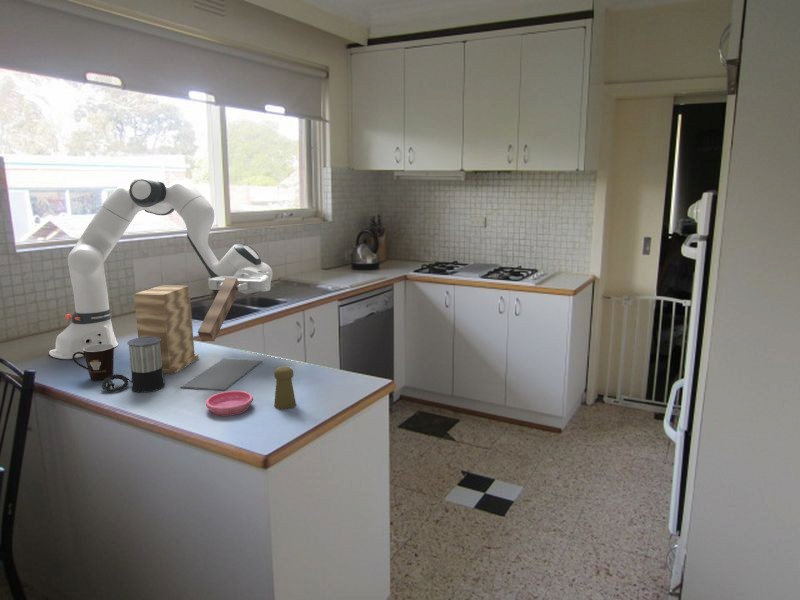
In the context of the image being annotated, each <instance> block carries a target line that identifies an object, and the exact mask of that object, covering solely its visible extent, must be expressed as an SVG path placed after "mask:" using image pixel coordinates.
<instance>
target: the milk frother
mask: <svg viewBox="0 0 800 600" xmlns="http://www.w3.org/2000/svg"><path fill="white" fill-rule="evenodd" d="M160 341H161V339H160V338H158V337H140V338H138V337H136V338H132V339H130V340H128V341H127V342H126V343H127V345H128V352H129V360H130V370H131V379H132V380H131V379H130V378H128V377H127V376H125V375H123V374H119V373H118V374H117V373H116V374H115V373H113V375H111V376H108V377H107V378H106V379H104V380H103V381H101V389H102V390H103V391H105V392H109V393H112V392H120V391H123V390H125V389H126V388H127V387H128V386H129V382H130V383H132V387H131V390H132V391H133V392H136V393H151V392H155V391H158V390H161V389H163V388H164V387H165V385H166V383H165V381H164V375H163V374H164V373H163V372H162V360H161V349H160ZM113 380H120V381H123V384H122V385H119V386H117V387H115V383H114V381H113Z"/></svg>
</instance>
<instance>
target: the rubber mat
mask: <svg viewBox="0 0 800 600" xmlns="http://www.w3.org/2000/svg"><path fill="white" fill-rule="evenodd" d="M261 363H262V360H260V359H244V358H241V359H239V358H222V359H220V360H219V361H217V362H216V363H214V364H213V365H211V366H210V367H208V368H207V369H205V370H204V371H202V372H201V373H200V374H198V375H196V376H195V377H193V378H191V379H190V380H188V381H187V382H186V383H183V384H182V385H181V386H180V389H188V390H189V389H190V390H191V389H192V390H204V391H205V390H206V391H217V392H218V391H221V392H226V391H227V390H228V389H229V388H231V387H232V386H233V385H234V384H235V383H237V382H238V381H239V380H241V377H242V376H243V375H244V376H246V375H247V374H248V373H249V372H251V371H252V370H253V369H255V368H256V367H257V366H258V365H260V364H261ZM255 366H256V367H255ZM251 369H252V370H251ZM250 370H251V371H250ZM247 372H248V373H247ZM246 373H247V374H246ZM244 376H243V377H244ZM238 379H239V380H238ZM237 380H238V381H237ZM232 384H233V385H232Z"/></svg>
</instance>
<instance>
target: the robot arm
mask: <svg viewBox="0 0 800 600" xmlns="http://www.w3.org/2000/svg"><path fill="white" fill-rule="evenodd" d="M141 211H145V213H147V214H148V213H149V214H153V215H155V216H167V215H171V214H172V213H173V212H174V211H175V212H176V214H178V215H179V217H180V218H181V219H182V220H183V222H184V224H185V227H186V232H187V233H186V236H187V238H186V239H187V240H188V241H189V243H190V245H191V247H192V248H193V250H194V251H195V254H196V255H197V257H198V258H199V260H200V261H201V263H202V264H203V267H204V268H205V269H206V271H207V273H208V274H209V275H208V276H209V279H208V281H207V282H208V289H209V290H213V291H214V290H215V291H216V290H218V291H219V290H220V288H221V286H222V284H223V282H224V280H225V278H237V280H238V282H239V285H235V290H236V291H238V293H239V292H240V293H241V294H246V295H247V294H248V295H249V294H252V293H253V294H254V293H257V292H269V291H271V288H272V287H271V284H272V283H271V281H272V279H273V270H272V267H271V266H270V265H269V264H267V263H266V262H263V261H262V260H261V257H260V255H259V254H258V252H257V251H256V250H255V249H254V248H253V247H251V246H250V245H248V244H244V243H235V244H233V245H232V247H231V248H230V249H229V250H228V251H227V252H226V253H225V255H224V256H223V257H222V258H221V259H220V260H218V258H217V257H216V255H215V254H214V252H213V250H212V249H211V247H210V245H209V235H210V232H211V230H212V226H213V224H214V220H215V210H214V207H213V205H211V203H210V202H209V200H207V198H206V197H205V196H204V195H203V194H202V193H201V192H200V191H199V190H198V189H197V188H196V187H195V186H193V185H192V184H190V183H189V182H188V181H186V180H183V179H182V180H176V181H173V182H172V183H171V184H170V185H165V183H164V182H163V181H159V180H156V179H155V178H151V177H144V176H142V177H138V178H136V179H134V180H133V181H132V182H131V183H130V186H129V185H124V184H122V185H118V186H117V187H116V188H115V189H114V190H113V191H112V192H110V194H109V195H108V196H107V197H106V199H105V200H104V202H103V203H102V204H101V205H100V208H98V210H97V212H96V213H95V215H94V216H93V218H92V220H91V221H90V222H89V224H88V225H87V226H86V229H85V230H84V232H83V234H82V235H81V236H80V237H79V239H78V241H77V242H76V244H75V245H74V246H73V248H72V250H70V252H69V253H68V256H67V264H68V269H69V271H68V272H69V276H70V281H71V287H72V291H73V293H72V294H73V299H74V301H73V302H74V308H75V312H74V313H73V314H70V313H66V314H65V315H64V316H65V319H66V320H69V321H70V320H71V323H70V324H69V325H68V326H67V327H65V329H64V330H62V331H61V332H60V333H59V334H58V335H57V336H56V339H55V348H54V349H50V350H49V352H48V353H49V356H50V357H53V358H56V359H60V360H61V359H62V360H73V354H74V353H76V352H83V349H84V348H85V347H87V346H91V345H96V344H112V345H114V348H116V347H117V346H118V345H119V343H118V340H117V339H116V335H115V333H114V329H113V324H112V321H113V320H112V318H113V317H112V310H111V308H110V302H109V294H108V286H107V285H108V284H107V280H106V273H105V264H104V263H105V261H106V260H107V258H108V257H109V255H110V253H111V252H112V251H113V249H114V248H115V246H116V245H117V244H118V242H119V241H120V240H121V238H122V236H123V235H124V233H125V232H126V231H127V229H128V228H129V226H130V225H131V222H132V221H133V220H134V218H135V217H136V215H137V214H138V213H139V212H141ZM83 353H84V352H83ZM82 357H84V356H83V355H82V354H76V355H75V359H76V358H82Z"/></svg>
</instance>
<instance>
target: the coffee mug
mask: <svg viewBox="0 0 800 600" xmlns="http://www.w3.org/2000/svg"><path fill="white" fill-rule="evenodd" d="M114 351H115V347H114V345H112V344H96V345H91V346H87V347H85V348H84V349H83V352H84V353H83V352H76V353H74V354H73V358H72V361H73V362H74V363H75V364H76V365H78V366H79V367H81V368H83V369H84V370H87V372H88V374H89V378H90V381H91V382H103V380H104V379H106V378H107V377H108V376H111V375H114V364H115V363H114V360H115V358H114V357H115V356H114V354H115V353H114ZM76 354H82V355H83V356H82V357H84V359H85V362H86V366H85V365H83V364H81V363H79V362H78V361H77V360H76V358H75V355H76Z"/></svg>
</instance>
